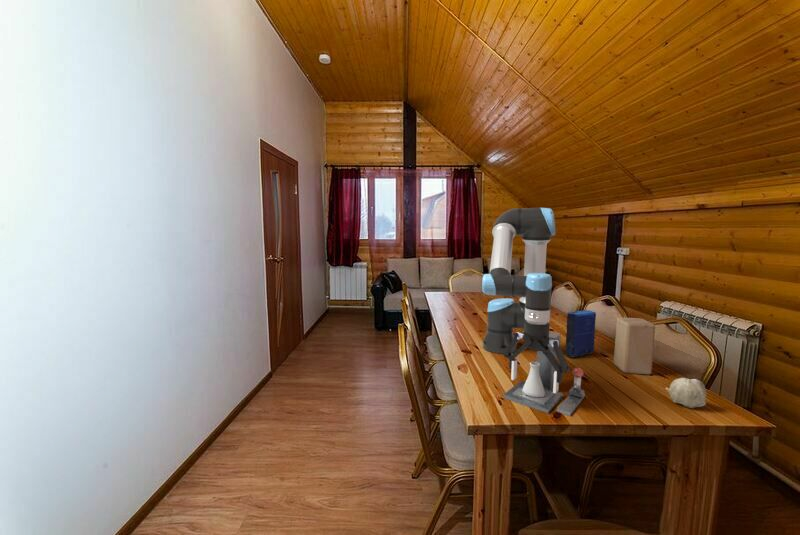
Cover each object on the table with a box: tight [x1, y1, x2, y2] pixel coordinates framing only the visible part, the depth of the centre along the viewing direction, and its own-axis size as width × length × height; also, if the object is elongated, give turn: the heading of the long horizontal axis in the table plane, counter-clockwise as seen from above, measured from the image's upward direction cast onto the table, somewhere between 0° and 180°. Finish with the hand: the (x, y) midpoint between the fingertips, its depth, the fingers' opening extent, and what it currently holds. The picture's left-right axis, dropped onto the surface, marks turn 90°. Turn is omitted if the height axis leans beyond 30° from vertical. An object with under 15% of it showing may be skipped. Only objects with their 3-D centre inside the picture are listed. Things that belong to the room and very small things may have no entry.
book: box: [564, 309, 597, 358], centre depth 148 cm, size 14×5×20 cm, turn 115°
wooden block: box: [613, 316, 656, 375], centre depth 133 cm, size 10×10×20 cm
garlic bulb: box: [665, 377, 707, 409], centre depth 105 cm, size 9×8×10 cm
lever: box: [568, 367, 585, 397], centre depth 110 cm, size 4×4×9 cm
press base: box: [503, 331, 586, 417], centre depth 110 cm, size 19×20×19 cm
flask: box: [522, 361, 545, 397], centre depth 110 cm, size 7×7×10 cm
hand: (533, 385), depth 110 cm, fingers open, 13 cm apart
